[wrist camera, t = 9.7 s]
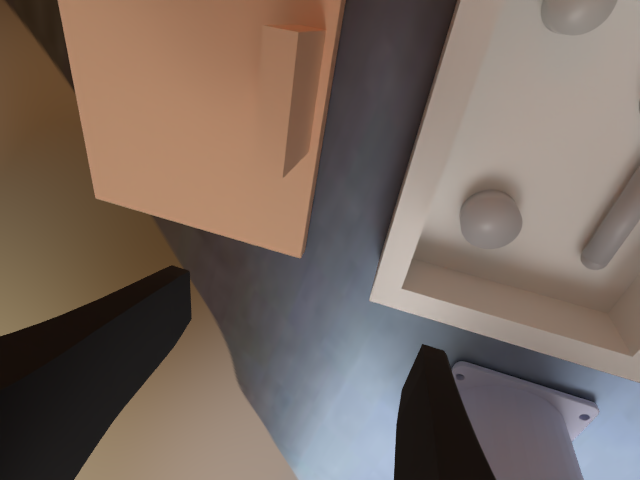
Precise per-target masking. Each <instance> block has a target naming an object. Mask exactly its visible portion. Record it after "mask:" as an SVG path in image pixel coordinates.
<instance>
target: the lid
mask: <svg viewBox="0 0 640 480" xmlns="http://www.w3.org/2000/svg"><path fill="white" fill-rule="evenodd" d="M345 2H346V0H58V4H59V9H60V14H61V19H62V25H63V30H64V35H65V40H66V46H67V51H68V56H69V61H70V67H71V72H72V77H73V82H74V88H75V93H76V98H77V103H78V108H79V114H80V119H81V124H82V130H83V134H84V140H85V145H86V150H87V155H88V161H89V166H90V171H91V177H92V182H93V187H94V192H95V198H96V199H100V200H103V201H107V202H110V203H114V204H117V205H121V206H124V207H127V208H130V209H134V210H138V211H141V212H144V213H147V214H151V215H154V216H158V217H161V218H164V219H168V220H171V221H175V222H178V223H181V224H185V225H188V226H192V227H195V228H198V229H202V230H205V231H209V232H212V233H215V234H219V235H222V236H226V237H229V238H233V239H236V240H239V241H243V242H246V243H250V244H253V245H256V246H260V247H263V248H267V249H270V250H273V251H277V252H280V253H284V254H287V255H290V256H294V257H297V258H301V257H302V255H303V253H304V252H305V247H306V241H307V235H308V229H309V223H310V217H311V211H312V204H313V198H314V192H315V186H316V180H317V174H318V168H319V161H320V155H321V149H322V143H323V137H324V131H325V125H326V119H327V112H328V106H329V100H330V94H331V88H332V82H333V76H334V69H335V63H336V57H337V51H338V45H339V39H340V33H341V27H342V20H343V14H344V8H345Z"/></svg>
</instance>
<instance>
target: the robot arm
mask: <svg viewBox="0 0 640 480" xmlns="http://www.w3.org/2000/svg"><path fill="white" fill-rule="evenodd" d="M190 321H191V296H190V272H189V271H188V270H185V269H181V268H178V267H175V266H169V267H167V268H165V269H162V270H160V271H158V272H156V273H154V274H152V275H150V276H147V277H145V278H143V279H141V280H139V281H137V282H135V283H133V284H131V285H129V286H126V287H124V288H122V289H120V290H118V291H116V292H113V293H111V294H109V295H107V296H105V297H103V298H101V299H98V300H96V301H93V302H91V303H89V304H87V305H84V306H82V307H79V308H77V309H74V310H72V311H70V312H67V313H65V314H63V315H60V316H58V317H55V318H52V319H50V320H47V321H44V322H42V323H39V324H36V325H33V326H30V327H27V328H24V329H22V330H19V331H16V332H13V333H10V334H7V335H3V336H0V480H74V479H75V477H76V476H77V474H78V473H79V471H80V470H81V468H82V466H83V465H84V464H85V462H86V461H87V459H88V457H89V456H90V454H91V453H92V451H93V450H94V448H95V447H96V446H97V444H98V443H99V441H100V439H101V438H102V437H103V435H104V434H105V432H106V431H107V430H108V428H109V427H110V425H111V424H112V422H113V421H114V420H115V418H116V417H117V416H118V414H119V413H120V412H121V411H122V409H123V408H124V407H125V405H126V404H127V403H128V402H129V401H130V399H131V398H132V397H133V396H134V395H135V393H136V392H137V391H138V390H139V389H140V388H141V386H142V385H143V384H144V383H145V381H146V380H147V379H148V378H149V376H150V375H151V374H152V373H153V372H154V370H155V369H156V368H157V367H158V366H159V364H160V363H161V362H162V361H163V360H164V358H165V357H166V356H167V355H168V353H169V352H170V351H171V350H172V348H173V347H174V346H175V344H176V343H177V341H178V340H179V338H180V337H181V335H182V334H183V332H184V330H185V329H186V327H187V325H188V324H189V322H190ZM457 374H462V375H457ZM598 414H599V408H598V406H597V405H596V403H594V402H592V401H588V400H585V399H582V398H579V397H576V396H573V395H569V394H566V393H563V392H560V391H557V390H554V389H550V388H547V387H544V386H541V385H538V384H535V383H531V382H528V381H525V380H522V379H519V378H516V377H512V376H509V375H506V374H503V373H500V372H497V371H493V370H490V369H487V368H484V367H481V366H478V365H474V364H471V363H468V362H464V361H459V362H457V363H455V365H454V366H453V368H452V370H451V367H450V364H449V361H448V358H447V355H446V353H445V351H443V350H440V349H436V348H433V347H430V346H427V345H424V344H422V346H421V348H420V350H419V353H418V355H417V357H416V359H415V362H414V364H413V366H412V368H411V371H410V373H409V375H408V377H407V380H406V382H405V384H404V386H403V389H402V393H401V399H400V406H399V412H398V419H397V427H396V446H395V468H394V480H584V479H583V476H582V473H581V470H580V467H579V464H578V460H577V457H576V454H575V451H574V448H573V445H572V441H573V440H574V439H575V438H576V437H577V436H578V435H579V434H580V433H581V432H582V431H583V430H584V429H585V428H586V427H587V426H588V425H589V424H590V423H591V422H592V421H593V420H594V418H595V417H596V416H597V415H598Z"/></svg>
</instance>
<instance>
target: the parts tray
mask: <svg viewBox="0 0 640 480" xmlns="http://www.w3.org/2000/svg"><path fill="white" fill-rule="evenodd" d="M369 301H372V302H375V303H378V304H382V305H385V306H388V307H391V308H395V309H398V310H401V311H405V312H408V313H411V314H415V315H418V316H421V317H424V318H428V319H431V320H434V321H438V322H441V323H444V324H448V325H451V326H454V327H457V328H461V329H464V330H467V331H471V332H474V333H477V334H480V335H484V336H487V337H490V338H494V339H497V340H500V341H504V342H507V343H510V344H513V345H517V346H520V347H523V348H527V349H530V350H533V351H536V352H540V353H543V354H546V355H550V356H553V357H556V358H560V359H563V360H566V361H569V362H573V363H576V364H579V365H583V366H586V367H589V368H593V369H596V370H599V371H602V372H606V373H609V374H612V375H616V376H619V377H622V378H625V379H629V380H632V381H635V382H639V383H640V0H457V3H456V6H455V10H454V13H453V16H452V20H451V23H450V26H449V30H448V33H447V36H446V40H445V43H444V46H443V50H442V53H441V56H440V60H439V63H438V66H437V70H436V73H435V76H434V80H433V83H432V86H431V90H430V93H429V96H428V100H427V103H426V106H425V109H424V113H423V116H422V119H421V123H420V126H419V129H418V133H417V136H416V139H415V143H414V146H413V149H412V153H411V156H410V159H409V163H408V166H407V169H406V173H405V176H404V179H403V183H402V186H401V189H400V193H399V196H398V199H397V203H396V206H395V209H394V212H393V216H392V219H391V222H390V226H389V229H388V232H387V236H386V239H385V242H384V246H383V249H382V252H381V256H380V259H379V263H378V267H377V271H376V275H375V279H374V283H373V287H372V291H371V295H370V299H369Z"/></svg>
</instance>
